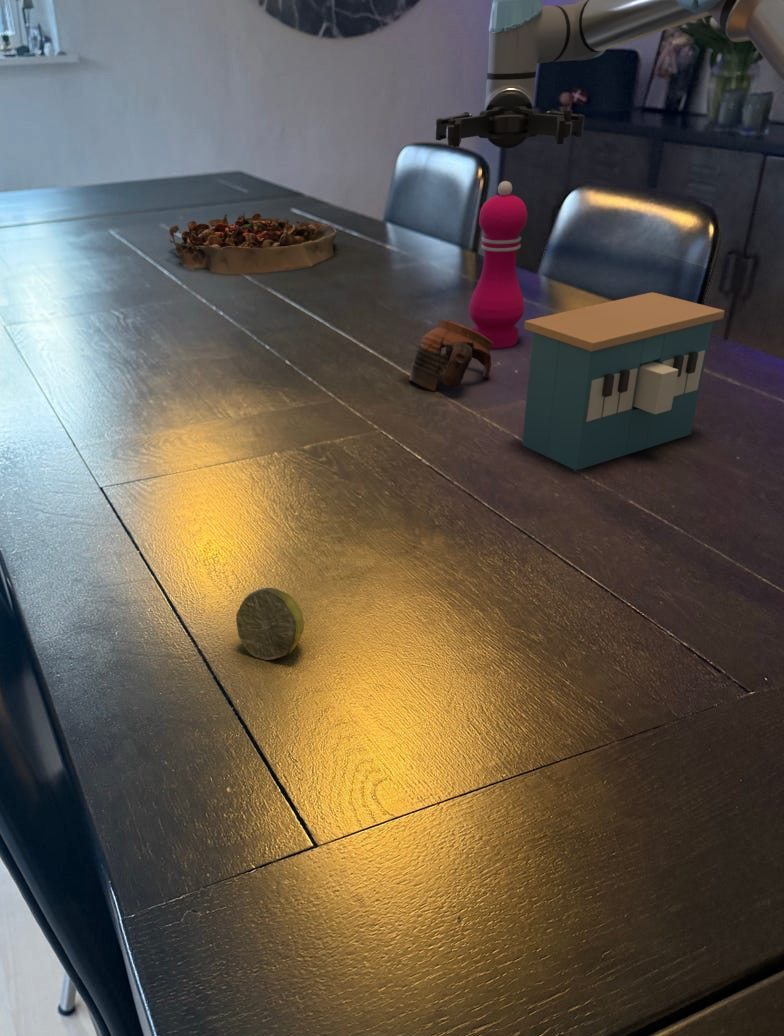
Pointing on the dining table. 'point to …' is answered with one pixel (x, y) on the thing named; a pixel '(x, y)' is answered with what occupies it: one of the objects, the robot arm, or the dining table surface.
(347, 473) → the dining table surface
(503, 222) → the pepper mill
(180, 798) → the dining table surface
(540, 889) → the dining table surface
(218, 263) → the food dish
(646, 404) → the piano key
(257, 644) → the lime
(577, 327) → the toy piano
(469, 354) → the rusty brown helmet
